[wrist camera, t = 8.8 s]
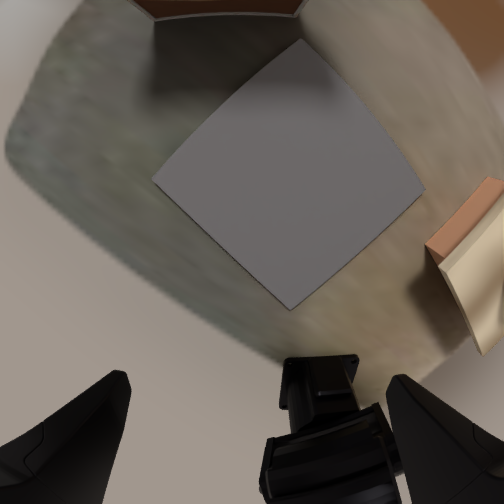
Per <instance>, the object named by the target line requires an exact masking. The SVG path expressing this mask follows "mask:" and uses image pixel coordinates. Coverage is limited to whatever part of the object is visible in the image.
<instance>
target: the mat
mask: <svg viewBox="0 0 504 504" xmlns="http://www.w3.org/2000/svg"><path fill="white" fill-rule="evenodd" d="M151 179H152V180H153V181H154V182H155V183H156V184H157V185H158V186H159V187H160V188H161V189H162V190H163V191H164V192H165V193H166V194H167V195H168V196H169V197H170V198H171V199H172V200H173V201H174V202H176V203H177V204H178V205H179V206H180V207H181V208H182V209H183V210H184V211H185V212H186V213H187V214H188V215H189V216H190V217H191V218H192V219H193V220H194V221H195V222H196V223H197V224H199V225H200V226H201V227H202V228H203V229H204V230H205V231H206V232H207V233H208V234H209V235H210V236H211V237H212V238H213V239H214V240H215V241H216V242H217V243H219V244H220V245H221V246H222V247H223V248H224V249H225V250H226V251H227V252H228V253H229V254H230V255H231V256H232V257H233V258H234V259H236V260H237V261H238V262H239V263H240V264H241V265H242V266H243V267H244V268H245V269H246V270H247V271H248V272H249V273H251V274H252V275H253V276H254V277H255V278H256V279H257V280H258V281H259V282H260V283H261V284H262V285H263V286H265V287H266V288H267V289H268V290H269V291H270V292H271V293H272V294H273V295H274V296H275V297H276V298H277V299H279V300H280V301H281V302H282V303H283V304H284V305H285V306H286V307H287V308H288V309H289V310H291V309H293V308H294V307H295V306H296V305H298V304H299V303H300V302H301V301H303V300H304V299H305V298H306V297H307V296H309V295H310V294H311V293H312V292H313V291H315V290H316V289H317V288H318V287H320V286H321V285H322V284H323V283H324V282H325V281H327V280H328V279H329V278H330V277H331V276H333V275H334V274H335V273H336V272H337V271H338V270H340V269H341V268H342V267H343V266H344V265H345V264H346V263H348V262H349V261H350V260H351V259H352V258H353V257H354V256H356V255H357V254H358V253H359V252H360V251H361V250H362V249H363V248H365V247H366V246H367V245H368V244H369V243H370V242H371V241H372V240H373V239H375V238H376V237H377V236H378V235H379V234H380V233H381V232H382V231H383V230H384V229H385V228H386V227H388V226H389V225H390V224H391V223H392V222H393V221H394V220H395V219H396V218H397V217H398V216H399V215H400V214H401V213H402V212H403V211H404V210H405V209H406V208H408V207H409V206H410V205H411V204H412V203H413V202H414V201H415V200H416V199H417V198H418V197H419V196H420V195H421V194H422V193H423V192H424V191H425V190H426V189H425V187H424V186H423V184H422V182H421V181H420V179H419V178H418V176H417V175H416V173H415V172H414V170H413V168H412V167H411V165H410V164H409V162H408V161H407V160H406V158H405V157H404V155H403V154H402V152H401V151H400V149H399V148H398V147H397V145H396V144H395V142H394V141H393V140H392V138H391V137H390V136H389V134H388V133H387V132H386V130H385V129H384V128H383V126H382V125H381V124H380V123H379V121H378V120H377V119H376V118H375V116H374V115H373V114H372V113H371V111H370V110H369V109H368V108H367V106H366V105H365V104H364V103H363V102H362V101H361V99H360V98H359V97H358V96H357V95H356V94H355V92H354V91H353V90H352V89H351V88H350V87H349V86H348V85H347V83H346V82H345V81H344V80H343V79H342V78H341V77H340V76H339V75H338V74H337V73H336V72H335V71H334V70H333V69H332V68H331V66H330V65H329V64H328V63H327V62H326V61H325V60H324V59H323V58H322V57H321V56H320V55H318V54H317V53H316V52H315V51H314V50H313V49H312V48H311V47H310V46H309V45H308V44H307V43H306V42H305V41H304V40H303V39H301V38H300V39H299V40H298V41H296V42H295V43H294V44H292V45H291V46H290V47H289V48H287V49H286V50H285V51H283V52H282V53H281V54H280V55H278V56H277V57H276V58H275V59H273V60H272V61H271V62H270V63H268V64H267V65H266V66H265V67H264V68H262V69H261V70H260V71H259V72H258V73H256V74H255V75H254V76H253V77H252V78H251V79H249V80H248V81H247V82H246V83H245V84H244V85H243V86H241V87H240V88H239V89H238V90H237V91H236V92H235V93H234V94H233V95H232V96H230V97H229V98H228V99H227V100H226V101H225V102H224V103H223V104H222V105H221V106H220V107H219V108H218V109H217V110H216V111H214V112H213V113H212V114H211V115H210V116H209V117H208V118H207V119H206V120H205V121H204V122H203V123H202V124H201V125H200V126H199V127H198V128H197V129H196V130H195V131H194V132H193V133H192V134H191V135H190V137H189V138H188V139H187V140H186V141H185V142H184V143H183V144H182V145H181V146H180V147H179V148H178V149H177V150H176V151H175V152H174V154H173V155H172V156H171V157H170V158H169V159H168V160H167V161H166V162H165V163H164V165H163V166H162V167H161V168H160V169H159V170H158V171H157V173H156V174H155V175H154V176H153V177H152V178H151Z"/></svg>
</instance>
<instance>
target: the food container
mask: <svg viewBox="0 0 504 504" xmlns="http://www.w3.org/2000/svg"><path fill="white" fill-rule="evenodd" d="M127 1H128V2H130V3H131V4H132V5H134V6H135V7H136V8H138V9H139V10H140V11H141V12H143V13H144V14H145V15H147V16H148V17H149V18H150V19H152V20H153V21H154V22H155V21H162V20H169V19H178V18H187V17H199V16H217V15H263V16H280V17H292V18H296V17H297V16H298V15H299V13H300V12H301V10H302V9H303V7H304V6H305V4H306V3H307V1H308V0H127Z"/></svg>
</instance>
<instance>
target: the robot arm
mask: <svg viewBox="0 0 504 504" xmlns="http://www.w3.org/2000/svg"><path fill="white" fill-rule="evenodd" d="M354 359H355V360H354ZM352 360H354V361H352ZM289 363H292V364H289ZM358 364H359V357H358V355H356V354H352V355H338V356H321V357H296V358H287V359H285V360H284V364H283V373H282V382H281V391H280V399H279V408H280V409H282V410H289V420H290V428H291V434H288V435H284V436H280V437H277V438H275V437H272V438H268V439H267V442H266V447H265V451H264V456H263V462H262V467H261V472H260V478H259V485H260V487H259V491H260V493H261V494H262V495H263V497H264V500H265V502H266V503H267V504H402V501H401V498H400V493H399V490H398V486H397V482H396V479H395V477H396V476H399V475H401V474H404V473H405V477H406V481H407V485H408V489H409V493H410V497H411V501H412V504H504V441H501V440H500V439H498V438H496V437H495V436H493V435H491V434H490V433H488V432H486V431H485V430H483V429H482V428H481V427H479V426H478V425H476V424H475V423H472V421H470V420H469V419H468V418H466V417H465V416H463V415H462V414H460V413H459V412H457V411H456V410H455V409H453V408H452V407H451V406H449V405H448V404H446V403H445V402H443V401H442V400H440V399H439V398H438V397H436V396H435V395H434V394H432V393H430V392H429V391H428V390H427V389H425V388H424V387H422V386H421V385H420V384H418V383H417V382H415V381H414V380H413V379H411V378H410V377H409V376H407V375H406V374H398V375H394V376H393V377H392V379H391V382H390V384H389V386H388V388H387V391H386V400H387V405H388V409H389V415H390V420H391V425H392V430H393V432H392V430H391V428H390V426H389V424H388V422H387V419H386V417H385V415H384V413H383V411H382V409H381V407H380V405H379V402H377V403H374V404H372V406H370V407H367V408H365V409H362V410H361V409H360V406H359V403H358V400H357V397H356V395H355V392H354V389H353V386H352V383H353V380H354V377H355V374H356V371H357V367H358ZM130 397H131V386H130V383H129V380H128V377H127V374H126V372H124V371H120V370H113V371H111V372H110V373H109V374H107V375H106V376H105V377H103V378H102V379H101V380H99V381H98V382H96V383H95V384H94V385H92V386H91V387H90V388H88V389H87V390H85V391H84V392H83V393H81V394H80V395H78V396H77V397H76V398H74V399H73V400H71V401H70V402H69V403H67V404H66V405H65V406H63V407H62V408H61V409H59V410H58V411H56V412H55V413H53V414H52V415H51V416H49V417H48V418H46V419H45V420H44V421H43V422H41V423H39V424H38V425H36V426H35V427H33V428H32V429H30V430H29V431H27V432H26V433H24V434H23V435H21V436H19V437H17V438H16V439H14V440H12V441H10V442H8V443H6V444H5V445H3V446H1V447H0V504H102V502H103V499H104V494H105V491H106V488H107V484H108V481H109V477H110V474H111V470H112V467H113V464H114V460H115V457H116V454H117V450H118V447H119V444H120V441H121V438H122V434H123V431H124V427H125V422H126V417H127V412H128V407H129V402H130ZM393 434H394V435H393Z"/></svg>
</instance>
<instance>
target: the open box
mask: <svg viewBox="0 0 504 504" xmlns="http://www.w3.org/2000/svg"><path fill="white" fill-rule="evenodd" d="M503 193H504V181H501V180H498V179H494V178H490V177H487V178H486V179H485V180H484V181H483V182H482V183H481V185H480V186H479V187H478V188H477V189H476V190H475V192H474V193H473V194H472V195H471V196H470V197H469V198H468V200H467V201H466V202H465V203H464V204H463V205H462V206H461V207H460V208H459V209H458V211H457V212H456V213H455V214H454V215H453V216H452V217H451V218H450V219H449V220H448V221H447V222H446V223H445V224H444V225H443V226H442V227H441V228H440V229H439V230H438V231H437V232H436V233H435V234H434V235H433V236H432V237H431V238H430V239H429V240H428V241H427V242H426V243H425V245H426V247H427V249H428V250H429V252H430V254H431V255H432V257H433V259H434V261H435V263H436V264H437V266H439V265H440V264H441V263H442V262H443V261H444V260H445V259H446V258H447V257H448V256H449V254H450V253H451V252H452V251H453V250H454V249H455V248H456V247H457V246H458V245H459V244H460V243H461V242H462V241H463V240H464V239H465V238H466V237H467V235H468V234H469V233H470V232H471V231H472V230H473V229H474V228H475V227H476V225H477V224H478V223H479V222H480V221H481V220H482V219H483V217H484V216H485V215H486V214H487V213H488V211H489V210H490V209H491V208H492V207H493V205H494V204H495V203H496V202H497V200H498V199H499V198H500V197H501V195H502V194H503ZM438 268H439V267H438ZM439 270H440V269H439ZM440 272H441V271H440ZM445 281H446V280H445ZM446 283H447V282H446ZM447 285H448V284H447ZM448 287H449V286H448ZM449 289H450V288H449ZM450 291H451V290H450ZM451 293H452V292H451ZM452 295H453V294H452ZM453 297H454V296H453ZM454 299H455V298H454ZM455 301H456V300H455ZM456 303H457V302H456ZM457 305H458V304H457Z"/></svg>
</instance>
